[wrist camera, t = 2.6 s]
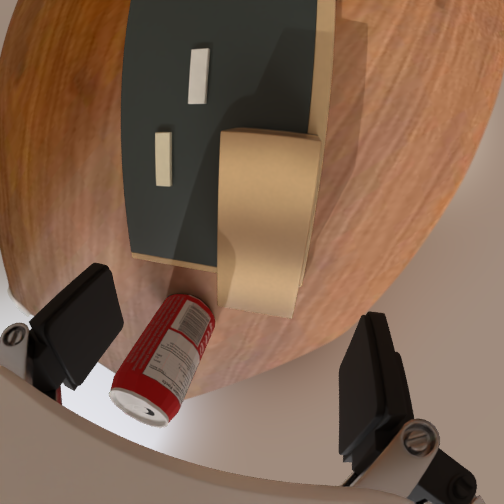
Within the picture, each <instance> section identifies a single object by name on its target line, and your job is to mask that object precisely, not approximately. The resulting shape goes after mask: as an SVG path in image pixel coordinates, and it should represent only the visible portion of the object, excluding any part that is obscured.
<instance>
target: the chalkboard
mask: <svg viewBox="0 0 504 504" xmlns="http://www.w3.org/2000/svg"><path fill="white" fill-rule="evenodd" d="M335 10H336V0H131V4H130V10H129V16H128V23H127V30H126V38H125V48H124V58H123V72H122V91H121V149H122V169H123V184H124V196H125V206H126V215H127V224H128V232H129V239H130V246H131V252H132V257H133V258H137V259H142V260H147V261H153V262H158V263H163V264H169V265H174V266H179V267H185V268H190V269H196V270H202V271H207V272H213V273H217V230H218V185H219V156H220V133H221V131H223V130H228V129H232V128H238V127H254V128H266V129H276V130H286V131H294V132H302V133H309V134H316V135H318V136H319V138H320V140H321V142H322V145H321V153H320V161H319V168H318V176H317V183H316V190H315V197H314V203H313V210H312V216H311V222H310V228H309V234H308V240H307V246H306V252H305V257H304V263H303V268H302V274H301V279H300V284H299V286H300V287H301V286H302V284H303V278H304V273H305V268H306V263H307V258H308V252H309V247H310V241H311V235H312V230H313V224H314V218H315V212H316V205H317V199H318V192H319V186H320V179H321V172H322V164H323V157H324V149H325V141H326V132H327V123H328V114H329V104H330V93H331V82H332V69H333V54H334V36H335ZM204 48H209V49H210V57H209V70H208V85H207V102H206V104H188V94H189V76H190V62H191V50H192V49H204ZM156 132H172V186H157V185H156V162H155V133H156Z"/></svg>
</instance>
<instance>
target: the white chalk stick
mask: <svg viewBox="0 0 504 504" xmlns="http://www.w3.org/2000/svg"><path fill="white" fill-rule="evenodd" d="M209 57H210V49H209V48H204V49H192V50H191V62H190V76H189V94H188V104H206V102H207V85H208V70H209Z"/></svg>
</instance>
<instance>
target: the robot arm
mask: <svg viewBox="0 0 504 504" xmlns="http://www.w3.org/2000/svg"><path fill="white" fill-rule="evenodd" d="M29 323H30V325H31V327H32V329H31V330H29V329H28V327H27V325H25V324H24V323H15V324H12V325H10V326H8V327H7V328H6V329H5V330H4V331H3V333H2V335H1V337H0V504H485V503H484V501H483V499H482V498H481V496H477V497H476V495H475V493H476V489H477V484H476V479H475V477H474V475H473V474H472V473H471V472H470V471H468V470H467V469H466V468H464V467H463V466H461V465H460V464H459V463H458V462H456V461H455V460H454V459H452V458H451V457H450V456H448V455H447V454H446V453H444V452H443V451H442V450H441V449H439V445H440V436H439V433H438V431H437V429H436V428H435V426H434V425H432V424H431V423H430V422H428V421H426V420H423V419H414V415H413V410H412V404H411V399H410V394H409V389H408V384H407V380H406V375H405V371H404V367H403V363H402V359H401V356H400V354H399V353H398V352H395V350H394V346H393V342H392V338H391V335H390V331H389V327H388V323H387V320H386V316H385V314H384V313H378V312H368V313H367V314H366V315H362V316H361V318H360V320H359V323H358V326H357V328H356V330H355V333H354V335H353V338H352V340H351V343H350V345H349V347H348V349H347V352H346V354H345V356H344V359H343V361H342V363H341V365H340V369H339V454H340V455H343V462H352V470H353V473H352V474H351V475H350V476H349V477H348V478H347V479H346V480H345V481H344V482H343V483H342V484H341V485H340V486H327V485H311V484H300V483H290V482H282V481H274V480H267V479H261V478H254V477H249V476H243V475H238V474H233V473H229V472H224V471H220V470H216V469H212V468H208V467H204V466H200V465H197V464H194V463H190V462H187V461H184V460H181V459H177V458H174V457H171V456H168V455H165V454H163V453H160V452H157V451H154V450H152V449H149V448H147V447H144V446H141V445H139V444H137V443H134V442H132V441H129V440H127V439H125V438H123V437H120V436H118V435H116V434H114V433H112V432H110V431H108V430H106V429H104V428H102V427H100V426H98V425H96V424H94V423H92V422H90V421H88V420H87V419H85V418H83V417H81V416H79V415H78V414H76V413H74V412H72V411H71V410H69V409H67V408H66V407H64V406H62V398H61V386H60V385H61V384H62V382H63V383H64V385H65V386H67V387H68V388H70V389H72V390H75V389H76V388H77V386H79V385H81V384H82V383H83V382H84V380H85V379H86V377H87V376H88V374H89V373H90V372H91V370H92V369H93V367H94V366H95V365H96V363H97V362H98V361H99V359H100V358H101V356H102V355H103V354H104V352H105V351H106V350H107V348H108V347H109V346H110V344H111V343H112V342H113V340H114V339H115V338H116V336H117V335H118V334H119V332H120V331H121V330H122V328H123V324H124V321H123V317H122V313H121V310H120V306H119V302H118V298H117V294H116V289H115V285H114V281H113V276H112V272H111V271H110V270H109V267H108V266H107V265H103V264H99V263H93V264H92V265H90V266H89V267H88V268H87V269H86V270H85V271H83V272H82V273H81V274H80V275H79V276H78V277H76V278H75V279H74V280H73V281H72V282H71V283H70V284H69V285H67V286H66V287H65V288H64V289H63V290H62V291H61V292H60V293H59V294H57V295H56V296H55V297H54V298H53V299H52V300H51V301H50V302H49V303H48V304H47V305H46V306H45V307H44V308H43V309H42V310H41V311H39V312H38V313H37V314H36V315H35V316H34V317H33V318H32V319H31V320H30V321H29Z"/></svg>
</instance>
